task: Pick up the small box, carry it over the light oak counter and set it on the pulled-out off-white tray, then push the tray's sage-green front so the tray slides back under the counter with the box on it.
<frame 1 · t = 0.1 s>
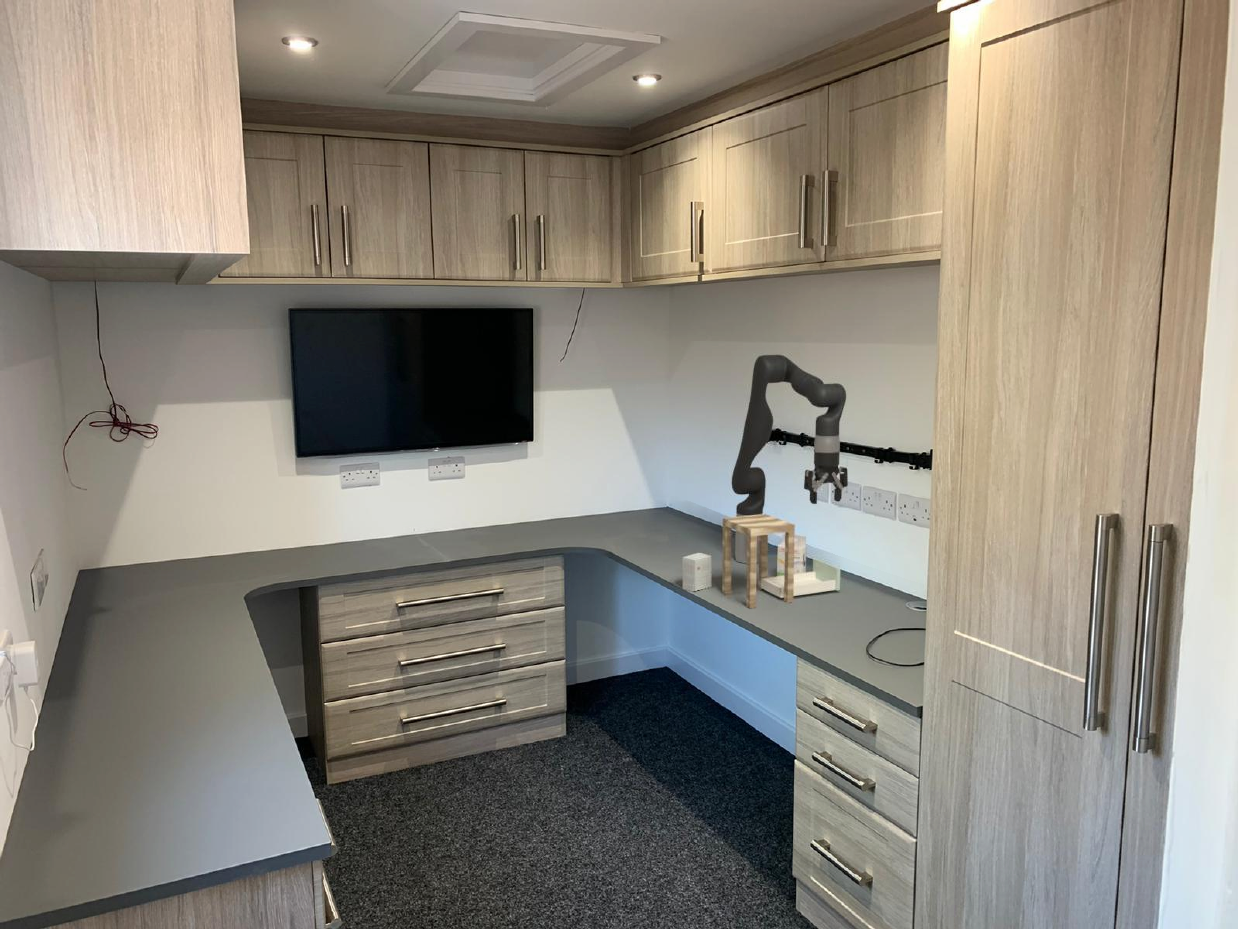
hand: (825, 502, 284), 29 cm above the worktop, tool pointing down, fingers open, 8 cm apart
small box: (696, 588, 297), on the worktop
ink box: (791, 580, 305), on the worktop
tray: (799, 577, 291), point 4 cm above the worktop, slide at 12.0 cm
counter: (757, 597, 286), on the worktop
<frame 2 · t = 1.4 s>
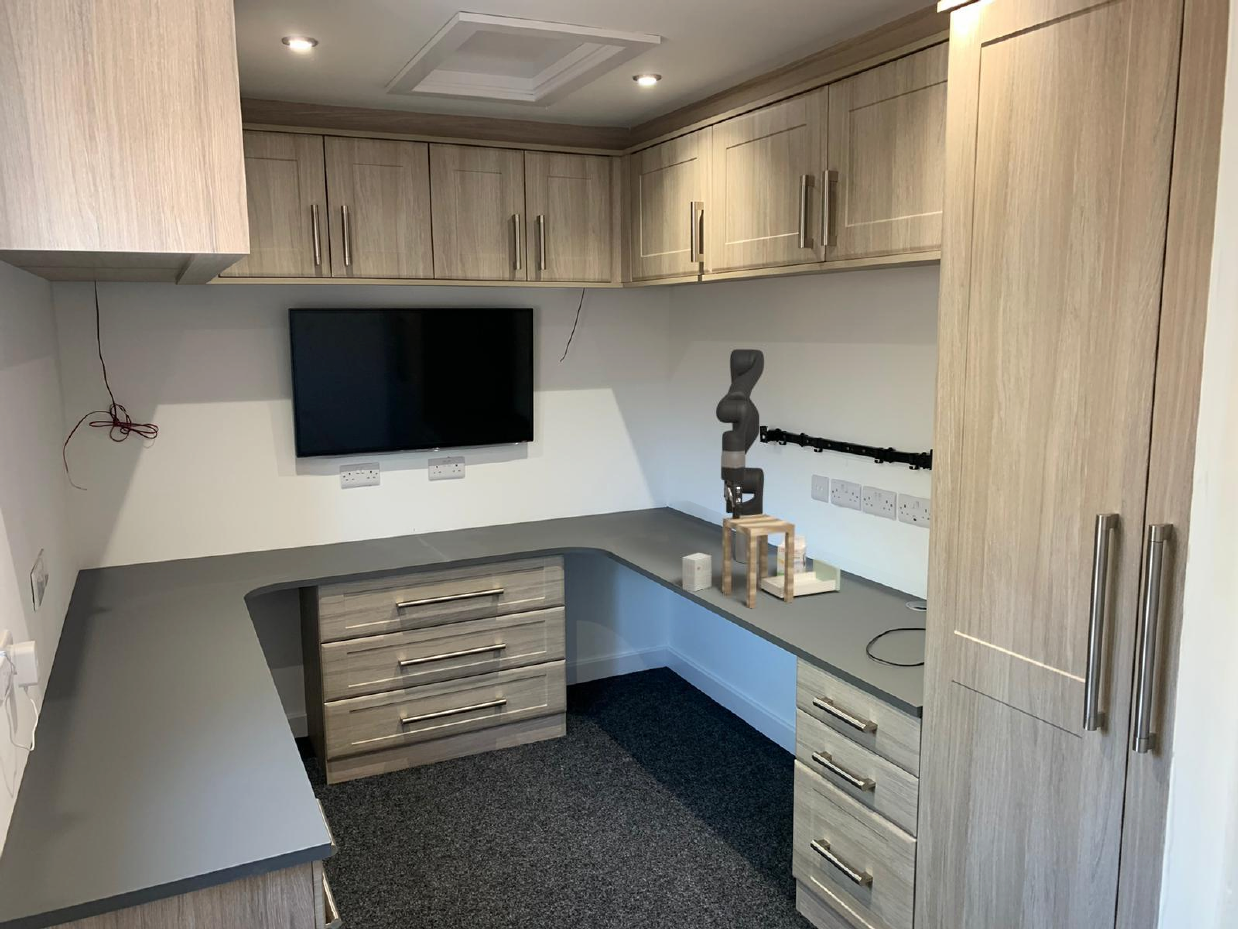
hand: (732, 515, 291), 24 cm above the worktop, tool pointing down, fingers open, 8 cm apart
nothing on the worktop moved.
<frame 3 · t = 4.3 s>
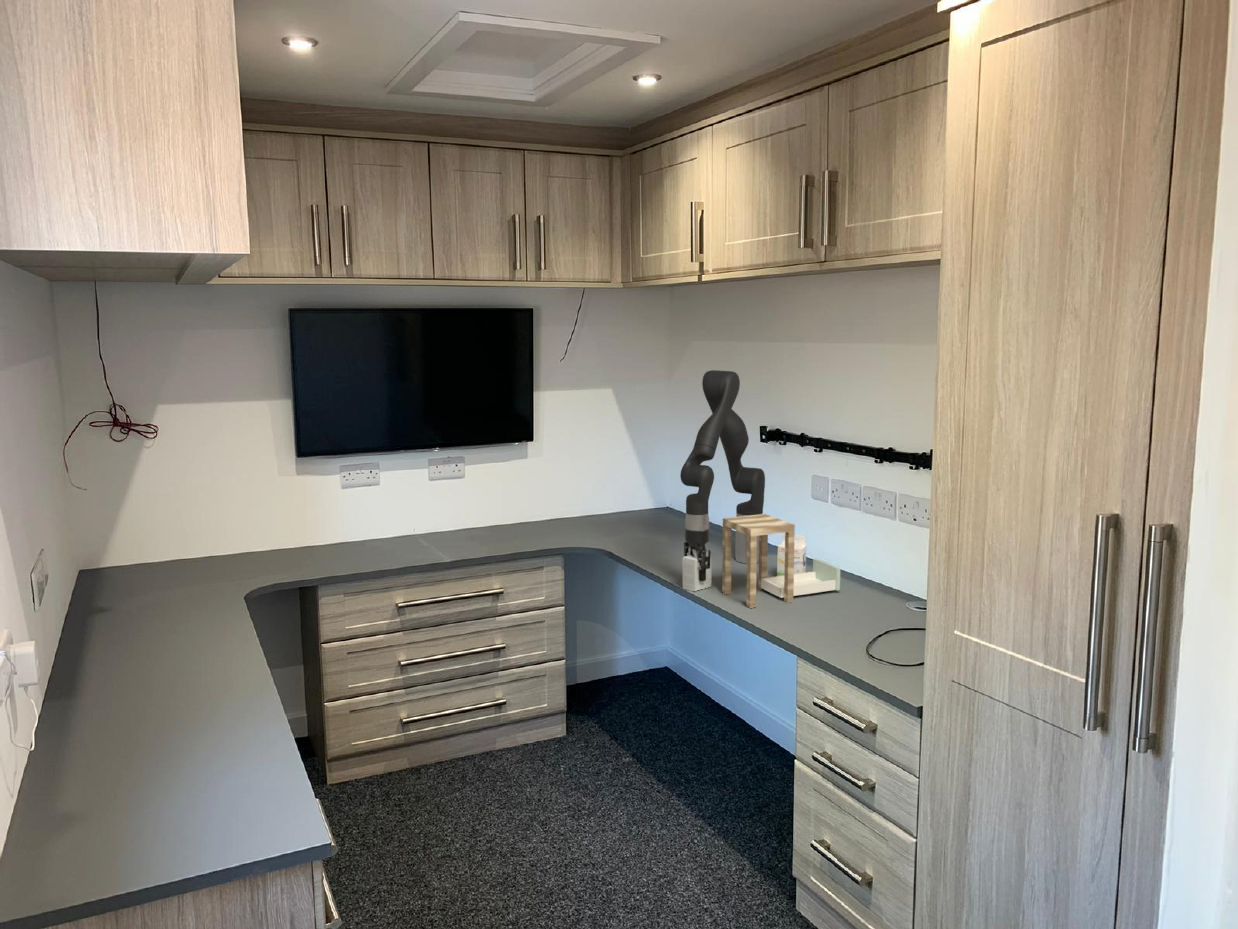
hand: (696, 577, 297), 3 cm above the worktop, tool pointing down, fingers closed on small box, 7 cm apart
small box: (696, 588, 297), on the worktop, touching gripper
everything else where it was.
when the fingers open (7 cm above the worktop, at t = 13.6 s): small box drops 1 cm, resting on tray.
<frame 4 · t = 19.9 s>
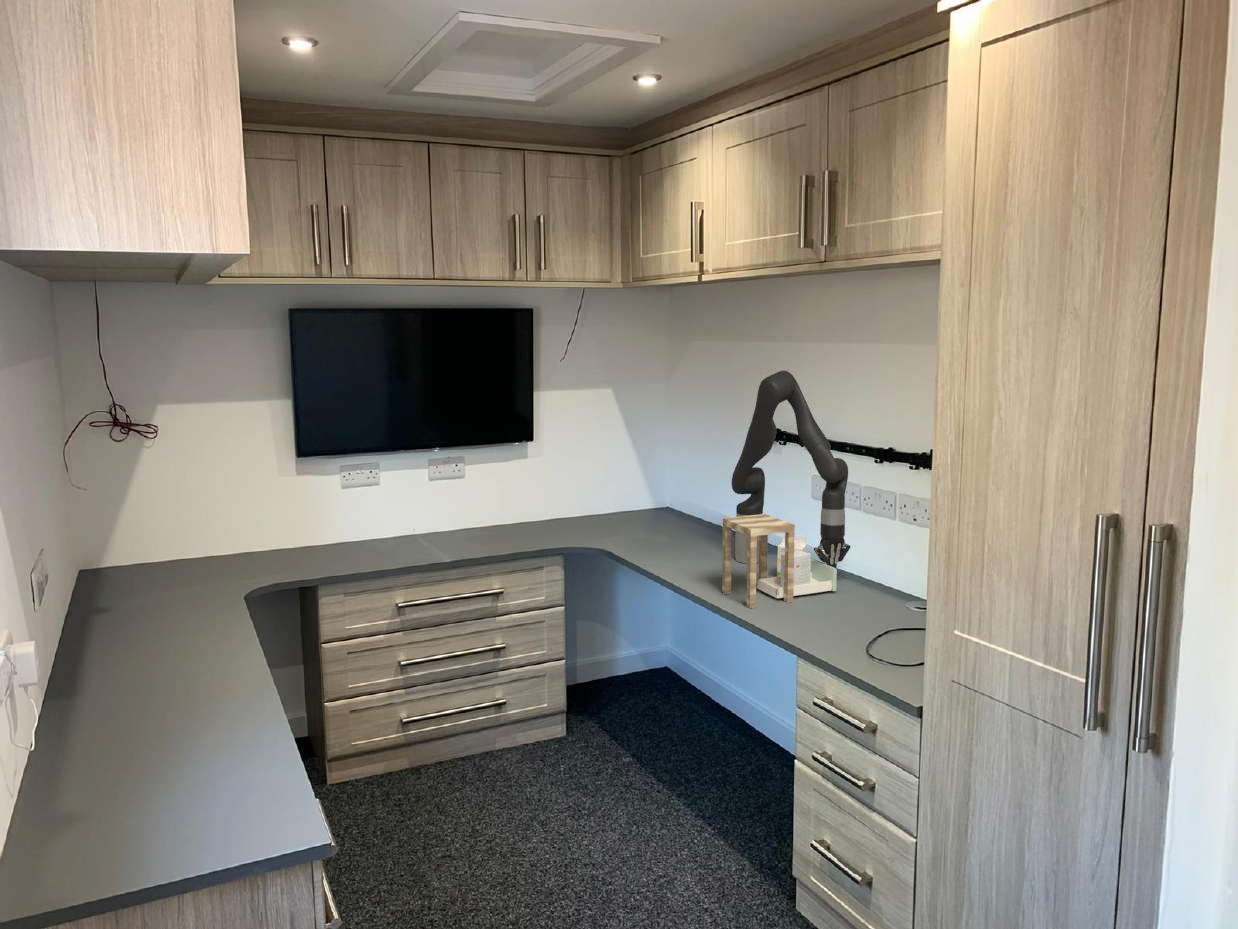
hand: (831, 574, 296), 4 cm above the worktop, tool pointing down, fingers closed
small box: (795, 586, 291), point 2 cm above the worktop, touching tray
tray: (796, 578, 291), point 4 cm above the worktop, slide at 10.6 cm, touching gripper, small box
everything else where it was.
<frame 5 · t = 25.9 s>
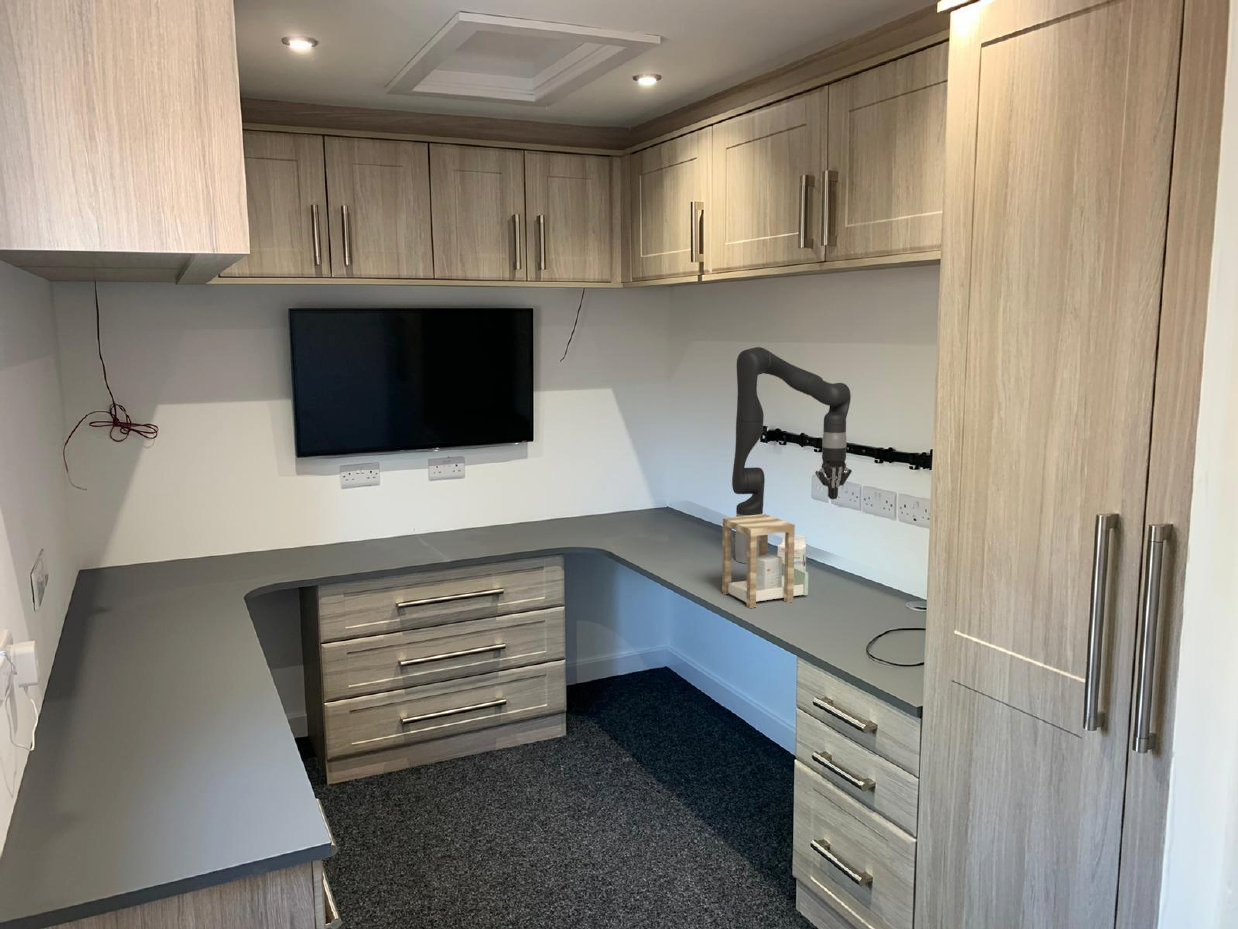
hand: (832, 498, 300), 27 cm above the worktop, tool pointing down, fingers closed
small box: (766, 591, 287), point 2 cm above the worktop, touching tray
tray: (767, 582, 287), point 4 cm above the worktop, slide at 0.2 cm, touching small box
everything else where it was.
at the end: tray slide at 0.2 cm; small box inside the target area (0.3 cm from its centre), point 1.8 cm above the worktop; small box tilted 0° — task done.
